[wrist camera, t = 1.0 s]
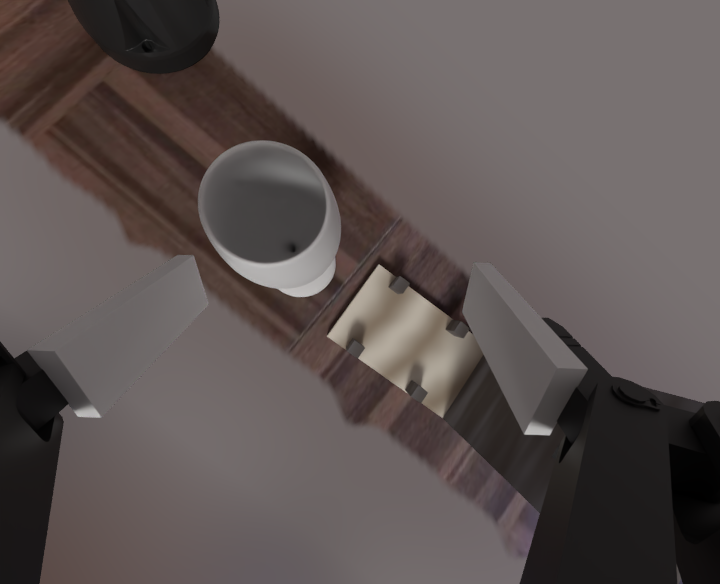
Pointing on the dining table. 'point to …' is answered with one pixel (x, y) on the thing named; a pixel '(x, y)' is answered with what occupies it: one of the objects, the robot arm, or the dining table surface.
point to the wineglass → (272, 216)
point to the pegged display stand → (451, 378)
